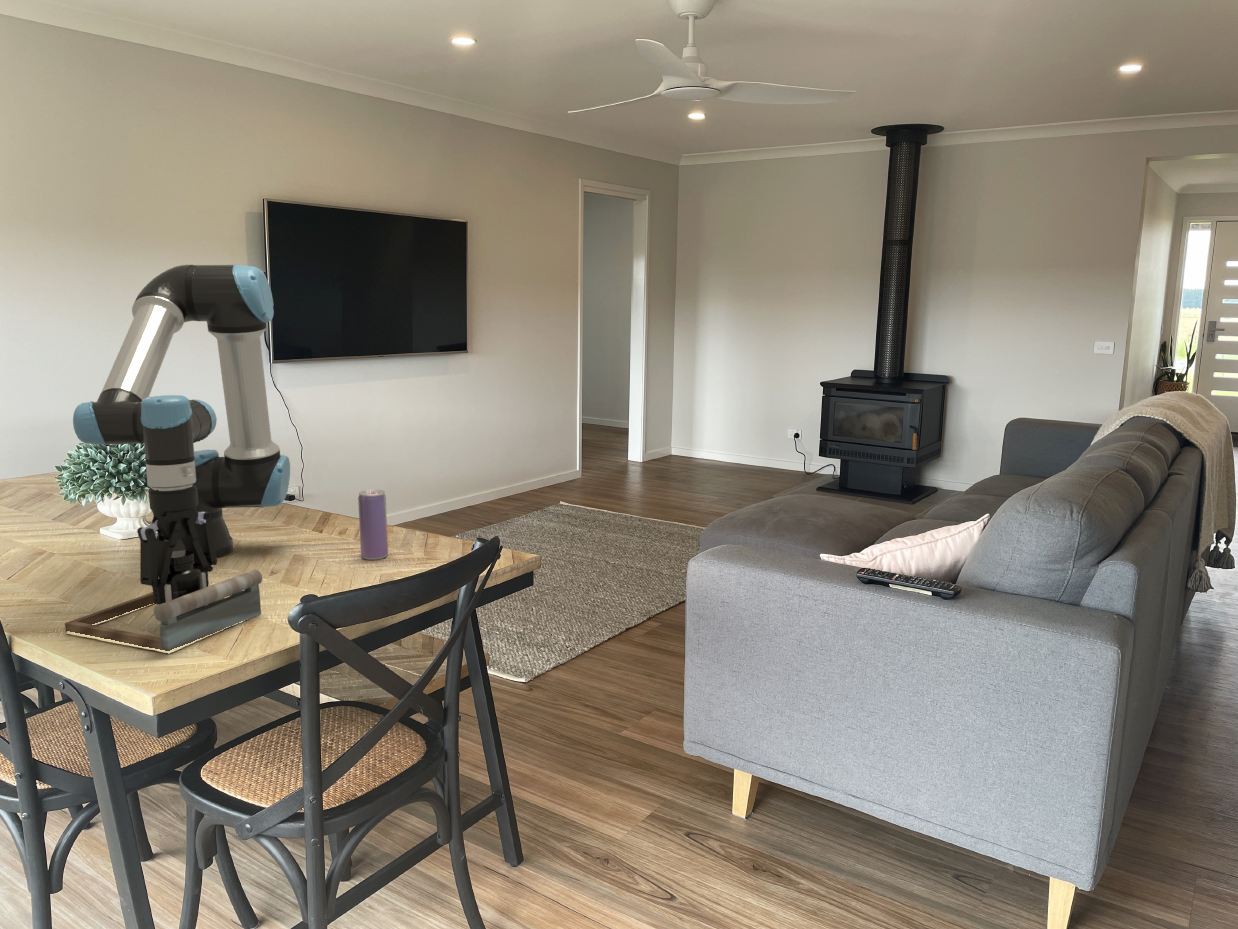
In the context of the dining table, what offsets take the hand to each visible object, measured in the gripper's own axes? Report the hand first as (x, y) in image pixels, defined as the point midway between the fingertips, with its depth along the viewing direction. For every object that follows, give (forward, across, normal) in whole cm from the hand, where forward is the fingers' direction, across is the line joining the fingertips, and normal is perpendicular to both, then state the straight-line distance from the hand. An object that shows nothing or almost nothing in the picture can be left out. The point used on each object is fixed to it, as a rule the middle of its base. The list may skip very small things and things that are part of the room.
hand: (183, 613), depth 155 cm
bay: (+3, 0, +4) cm, 5 cm away
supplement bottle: (+1, 0, 0) cm, 1 cm away
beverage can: (+3, +49, -4) cm, 49 cm away
